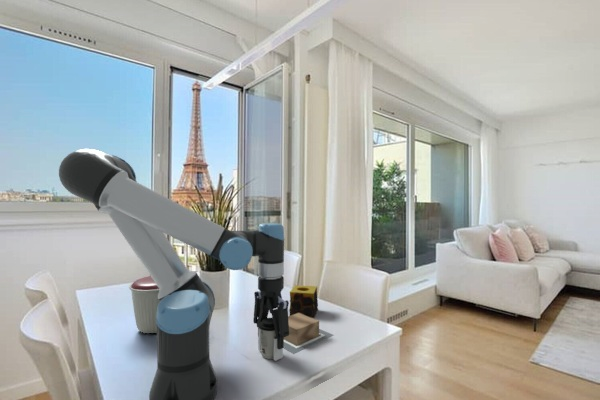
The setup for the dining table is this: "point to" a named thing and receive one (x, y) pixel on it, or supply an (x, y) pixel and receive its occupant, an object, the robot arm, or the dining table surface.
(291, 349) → the gray placemat
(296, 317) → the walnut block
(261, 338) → the coffee cup
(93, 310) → the dining table surface
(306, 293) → the candle
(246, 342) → the dining table surface
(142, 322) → the canister
